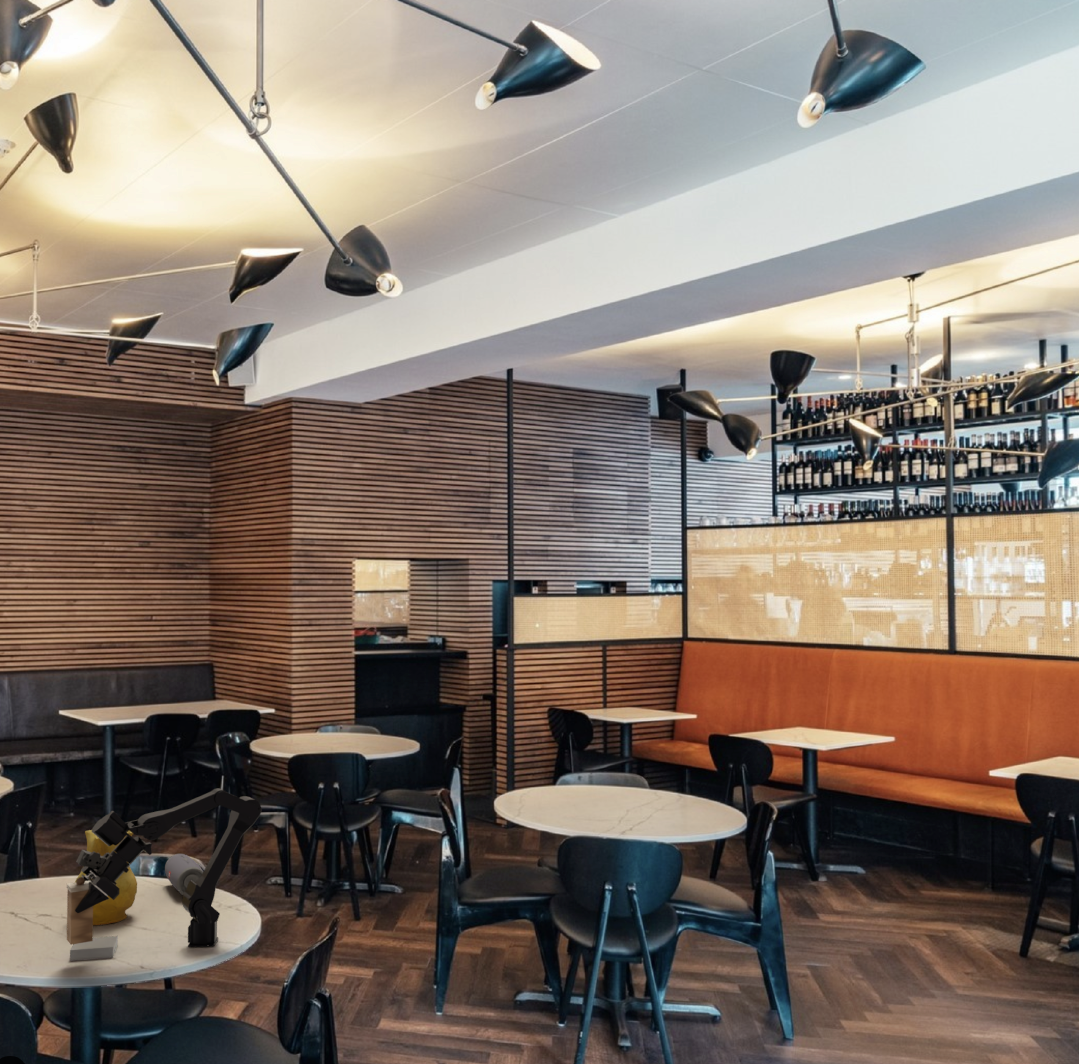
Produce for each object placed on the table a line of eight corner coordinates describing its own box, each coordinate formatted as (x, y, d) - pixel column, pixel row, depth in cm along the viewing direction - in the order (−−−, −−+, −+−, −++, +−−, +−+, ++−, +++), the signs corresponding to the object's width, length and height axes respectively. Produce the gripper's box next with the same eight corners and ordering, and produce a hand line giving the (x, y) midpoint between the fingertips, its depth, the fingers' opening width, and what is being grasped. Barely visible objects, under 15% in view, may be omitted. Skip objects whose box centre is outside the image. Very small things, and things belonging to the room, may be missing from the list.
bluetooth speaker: (162, 885, 346) (162, 853, 347) (192, 882, 351) (193, 850, 351) (175, 902, 326) (175, 868, 327) (207, 898, 331) (208, 864, 331)
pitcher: (55, 921, 305) (64, 830, 308) (109, 908, 322) (116, 822, 324) (98, 931, 297) (106, 838, 300) (151, 918, 314) (158, 829, 316)
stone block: (117, 947, 285) (117, 935, 285) (112, 959, 275) (113, 946, 275) (75, 950, 282) (76, 938, 283) (69, 962, 273) (70, 949, 273)
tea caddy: (89, 935, 274) (89, 873, 275) (93, 940, 269) (94, 877, 270) (65, 939, 271) (66, 876, 272) (69, 944, 267) (70, 881, 268)
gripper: (90, 831, 282) (42, 881, 275) (106, 844, 266) (56, 897, 259) (122, 858, 286) (76, 908, 279) (139, 872, 270) (91, 926, 263)
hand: (74, 909), depth 270 cm, fingers closed on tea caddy, 5 cm apart
